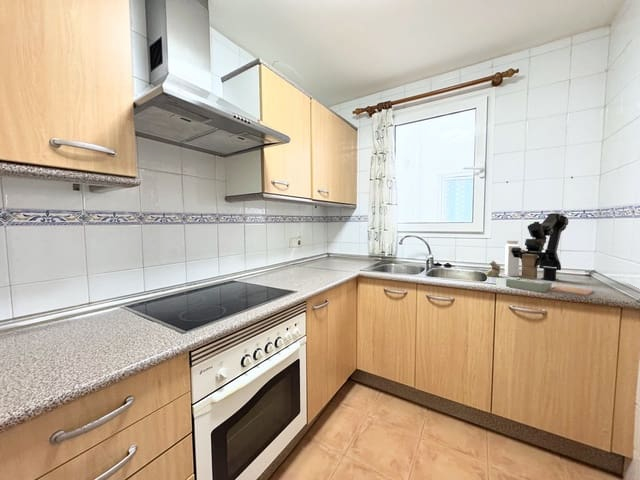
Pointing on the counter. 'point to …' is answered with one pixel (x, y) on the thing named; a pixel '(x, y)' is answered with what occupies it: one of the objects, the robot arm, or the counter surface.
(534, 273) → the brown rectangular block
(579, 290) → the tile
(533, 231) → the robot arm
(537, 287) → the bay
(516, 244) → the milk
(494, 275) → the chocolate bunny
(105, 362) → the counter surface
